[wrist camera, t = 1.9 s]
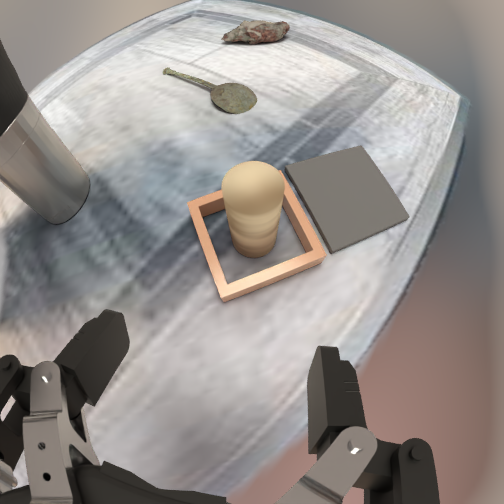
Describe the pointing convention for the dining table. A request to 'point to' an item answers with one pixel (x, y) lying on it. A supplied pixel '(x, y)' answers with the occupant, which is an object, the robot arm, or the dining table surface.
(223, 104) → the soupspoon
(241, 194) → the maple post
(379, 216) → the charcoal mat
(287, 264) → the terracotta collar
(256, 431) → the dining table surface
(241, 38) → the mineral rock
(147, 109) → the dining table surface
